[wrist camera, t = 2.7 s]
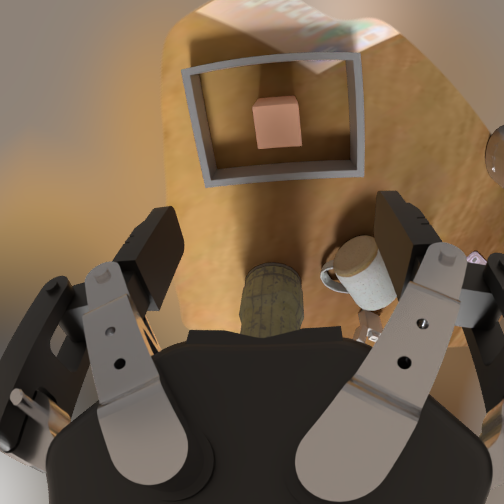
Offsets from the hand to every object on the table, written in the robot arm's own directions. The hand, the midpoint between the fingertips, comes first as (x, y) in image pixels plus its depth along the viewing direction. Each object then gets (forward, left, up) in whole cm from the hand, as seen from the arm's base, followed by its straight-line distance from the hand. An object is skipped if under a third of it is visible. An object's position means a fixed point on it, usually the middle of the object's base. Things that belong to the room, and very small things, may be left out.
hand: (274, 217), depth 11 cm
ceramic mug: (-9, +21, -23) cm, 33 cm away
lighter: (-12, +33, -23) cm, 42 cm away
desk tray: (0, 0, -23) cm, 23 cm away
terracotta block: (0, 0, -23) cm, 23 cm away
